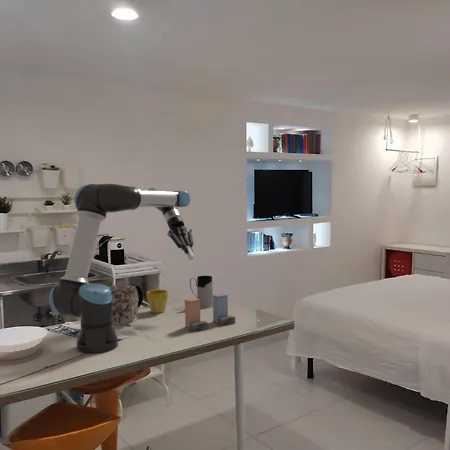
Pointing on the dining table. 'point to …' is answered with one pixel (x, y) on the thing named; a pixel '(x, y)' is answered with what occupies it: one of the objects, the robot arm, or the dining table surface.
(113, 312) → the decorative jar
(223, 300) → the light blue tall block
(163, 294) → the plant pot
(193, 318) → the salmon pink lidded box
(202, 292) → the grey metal pitcher
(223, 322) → the dark grey block pair
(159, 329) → the dining table surface
